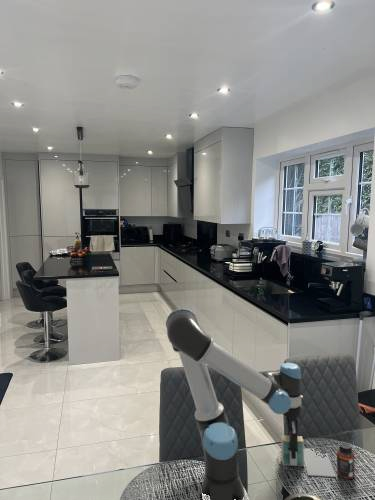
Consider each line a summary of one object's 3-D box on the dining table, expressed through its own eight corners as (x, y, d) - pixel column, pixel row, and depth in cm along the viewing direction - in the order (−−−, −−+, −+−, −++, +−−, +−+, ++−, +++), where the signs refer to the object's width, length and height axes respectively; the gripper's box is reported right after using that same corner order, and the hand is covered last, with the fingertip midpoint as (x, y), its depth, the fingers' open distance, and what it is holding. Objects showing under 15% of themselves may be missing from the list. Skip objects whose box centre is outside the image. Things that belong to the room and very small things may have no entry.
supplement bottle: (356, 480, 131) (356, 451, 130) (339, 479, 132) (338, 449, 131) (352, 469, 137) (352, 441, 136) (335, 468, 138) (335, 439, 137)
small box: (282, 465, 141) (282, 440, 140) (281, 459, 144) (281, 435, 144) (304, 466, 140) (303, 441, 139) (302, 460, 143) (302, 436, 143)
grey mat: (307, 475, 135) (307, 474, 135) (300, 449, 150) (300, 448, 150) (335, 477, 133) (335, 476, 133) (325, 450, 149) (325, 449, 149)
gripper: (305, 415, 132) (306, 476, 133) (298, 394, 148) (299, 448, 150) (283, 414, 133) (285, 475, 134) (279, 393, 149) (280, 447, 151)
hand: (292, 461), depth 142 cm, fingers closed on small box, 3 cm apart
